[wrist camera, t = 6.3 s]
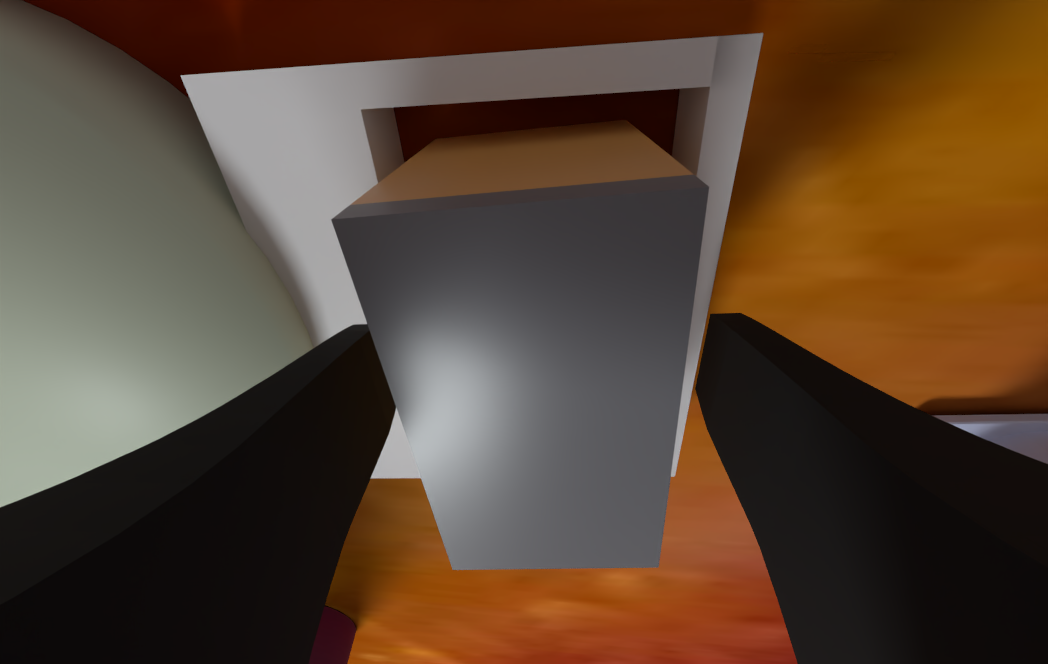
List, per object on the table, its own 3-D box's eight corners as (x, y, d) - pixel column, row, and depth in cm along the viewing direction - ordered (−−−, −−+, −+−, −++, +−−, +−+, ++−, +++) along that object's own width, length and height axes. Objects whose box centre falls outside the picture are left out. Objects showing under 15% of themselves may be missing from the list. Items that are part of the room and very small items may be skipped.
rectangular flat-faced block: (617, 383, 14) (658, 567, 9) (484, 389, 15) (452, 569, 10) (624, 118, 10) (709, 186, 5) (436, 138, 10) (331, 219, 5)
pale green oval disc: (653, 471, 16) (673, 547, 14) (29, 475, 18) (-54, 544, 16) (746, -115, 8) (843, -195, 5) (-468, 1, 9) (-834, -18, 7)
